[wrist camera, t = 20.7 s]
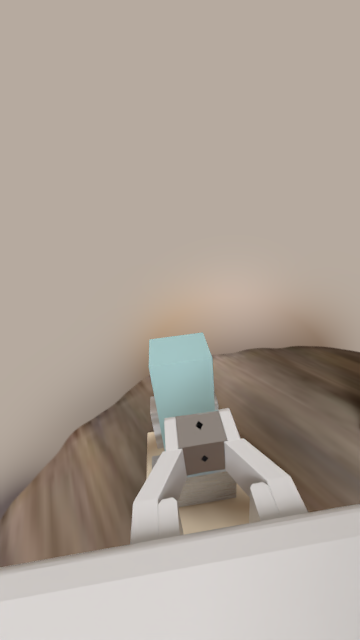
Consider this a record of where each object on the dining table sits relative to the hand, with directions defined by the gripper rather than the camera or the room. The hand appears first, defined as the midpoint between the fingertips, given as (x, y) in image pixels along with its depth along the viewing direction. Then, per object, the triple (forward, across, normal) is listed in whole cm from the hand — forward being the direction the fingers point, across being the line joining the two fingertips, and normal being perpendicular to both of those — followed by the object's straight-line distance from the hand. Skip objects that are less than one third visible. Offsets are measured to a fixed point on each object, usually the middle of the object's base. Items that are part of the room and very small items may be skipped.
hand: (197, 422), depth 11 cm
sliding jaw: (+9, 0, +22) cm, 24 cm away
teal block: (+13, 0, +23) cm, 26 cm away
